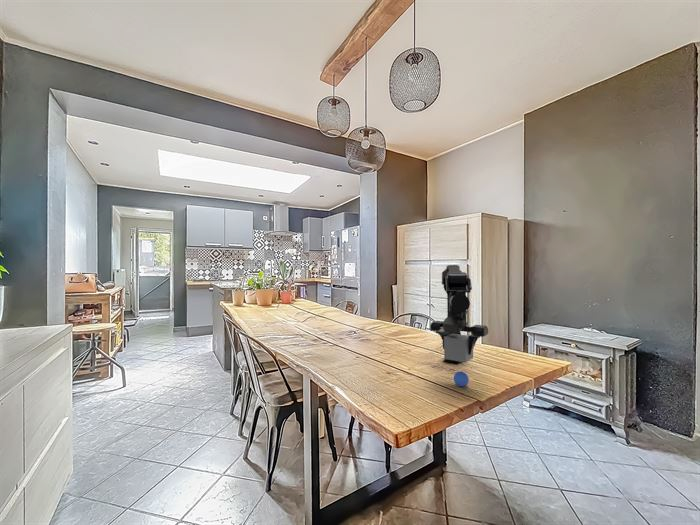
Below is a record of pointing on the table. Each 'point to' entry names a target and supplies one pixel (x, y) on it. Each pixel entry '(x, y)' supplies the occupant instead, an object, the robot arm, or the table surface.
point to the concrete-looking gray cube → (457, 348)
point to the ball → (461, 379)
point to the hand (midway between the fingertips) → (458, 352)
